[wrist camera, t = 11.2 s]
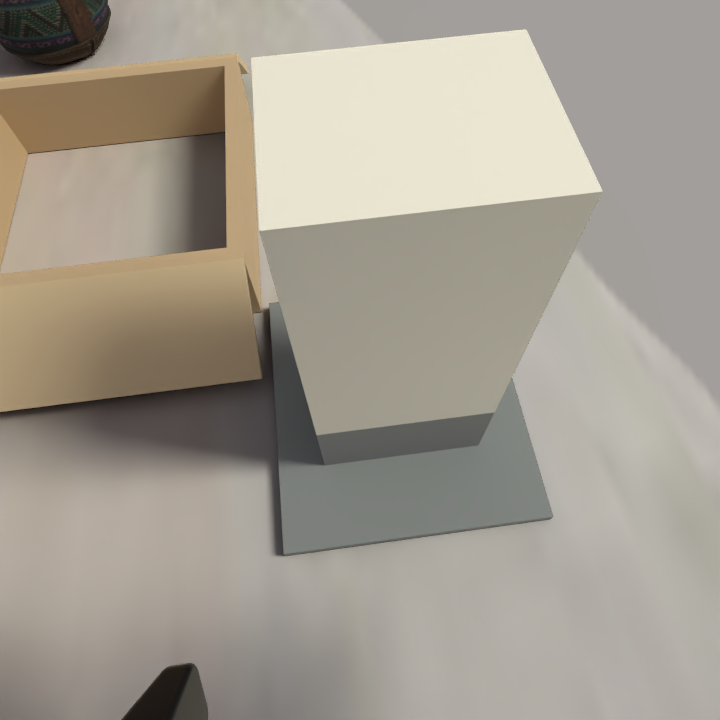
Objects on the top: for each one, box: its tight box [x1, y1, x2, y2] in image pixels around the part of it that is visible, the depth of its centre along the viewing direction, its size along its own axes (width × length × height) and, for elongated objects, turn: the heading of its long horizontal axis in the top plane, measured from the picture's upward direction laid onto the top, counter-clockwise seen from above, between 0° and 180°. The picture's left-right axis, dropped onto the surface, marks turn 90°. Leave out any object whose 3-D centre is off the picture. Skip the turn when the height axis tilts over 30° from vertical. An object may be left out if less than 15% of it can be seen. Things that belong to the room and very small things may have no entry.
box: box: [251, 29, 603, 465], centre depth 15 cm, size 4×6×12 cm
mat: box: [269, 302, 553, 556], centre depth 20 cm, size 10×9×1 cm
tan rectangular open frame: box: [0, 53, 263, 412], centre depth 24 cm, size 19×12×4 cm, turn 7°
